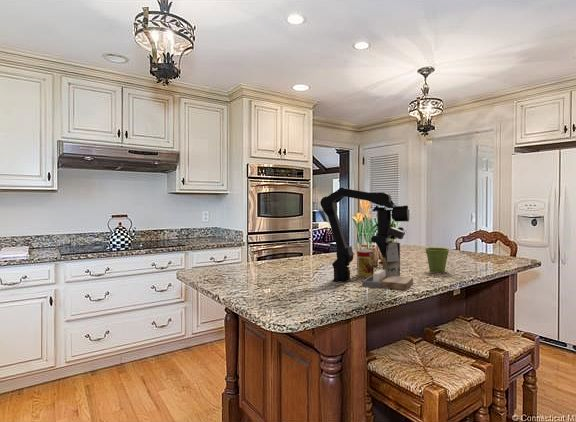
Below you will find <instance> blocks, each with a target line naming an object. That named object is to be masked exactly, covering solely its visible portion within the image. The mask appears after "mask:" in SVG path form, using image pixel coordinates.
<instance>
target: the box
mask: <svg viewBox="0 0 576 422" xmlns="http://www.w3.org/2000/svg"><path fill="white" fill-rule="evenodd" d="M387 277H389V276H386V278H387ZM361 287H371V288H380V289H382V288H383V287H382V283H381V282H373V275H372V276H370V277H366V278H365V279H364V280H362V281H361Z"/></svg>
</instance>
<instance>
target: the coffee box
mask: <svg viewBox="0 0 576 422" xmlns="http://www.w3.org/2000/svg"><path fill="white" fill-rule="evenodd" d="M392 241H393V242H392V243H391V244H390V245H389V248H388V252H387V256H386V258H384V257H383V256H382V270H386V276H399V277H401V243H400V242H398V241H394V240H392Z"/></svg>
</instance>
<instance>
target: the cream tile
mask: <svg viewBox="0 0 576 422" xmlns="http://www.w3.org/2000/svg"><path fill="white" fill-rule="evenodd" d="M384 279H386V270H383V269H379V270H377V271H375V272H374V273H373V282H381V283H382V281H383V280H384Z"/></svg>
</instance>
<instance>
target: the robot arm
mask: <svg viewBox="0 0 576 422" xmlns="http://www.w3.org/2000/svg"><path fill="white" fill-rule="evenodd" d="M345 197H347V198H351V199H355V200H356V199H358V200H362V201H367V202H370V203H372V204H374V205H375V206H374V208H372V212H376V215H377V216H376V222H377V223H375V227H377V232H376V234H375V235H372V236H371V237H370V243H373V244H374V243H375V244H376V246H377V247H378V250H379V251H380V254H381V255H382V258H383V257H384V258H386V256H387V252H388V248H389V245H390V244H391V243H392V242H393V241H394V240H397V239H398V240H402V239H404V237H405V235H406V230H405V228H404V227H402V226H399V227H398V228H397V227H394V224H393V223H392V220H393V221H394V222H398V223H399V222H404V223H405V222H409V221H410V211H409V210H410V209H409V205H396V204H395V203H394V201H393V200H392V199H393V198H392V196H391V194H390V193H388V192H368V191H362V190H358V189H351V188H350V189H349V188H347V187H339V188H338V189H337V190H335V191H334V192H332V193H330V194H329V195H327V196H324V197H322V198H321V199H320V206H321V209H322V211H323V212H324V214H325V215H326V216H327V219H328V221H329V225H330V229H331V232H332V235H333V239H334V242H335V245H336V250H335V251H336V252H335V253H336V259H335V260H334V261H333V262H332V268H333V279H332V282H340V283H347V282H349V281H350V280H351V270H350V263H351V262H353V260H354V255H355V253H354V251H353V246H351V245H350V246H349V245H348V244H347V242H346V239H345V236H344V233H343V229H342V226H341V222H340V220H339V216H338V203H339V202H341V201H342V199H344V198H345ZM380 206H381V207H380ZM391 239H392V240H391Z"/></svg>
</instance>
